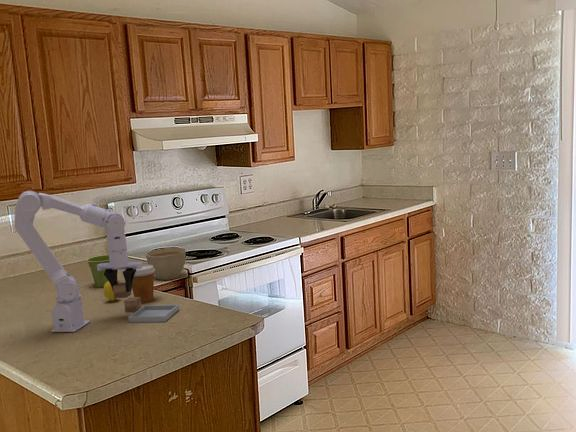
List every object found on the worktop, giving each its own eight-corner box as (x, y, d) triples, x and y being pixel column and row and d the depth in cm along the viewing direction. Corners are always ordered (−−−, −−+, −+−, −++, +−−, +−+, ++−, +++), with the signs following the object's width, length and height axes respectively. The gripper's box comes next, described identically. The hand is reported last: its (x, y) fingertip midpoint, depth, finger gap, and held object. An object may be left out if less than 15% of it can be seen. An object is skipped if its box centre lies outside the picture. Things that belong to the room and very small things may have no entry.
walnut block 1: (126, 297, 182) (124, 285, 182) (114, 298, 183) (113, 285, 182) (131, 294, 186) (130, 282, 186) (120, 294, 187) (118, 282, 186)
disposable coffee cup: (163, 297, 206) (159, 264, 205) (148, 304, 197) (145, 270, 196) (140, 296, 209) (136, 264, 208) (125, 304, 200) (121, 270, 199)
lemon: (116, 303, 202) (113, 281, 201) (101, 303, 203) (99, 281, 202) (123, 298, 207) (121, 277, 206) (109, 299, 209) (107, 277, 208)
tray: (165, 322, 177) (164, 316, 176) (129, 322, 179) (128, 317, 179) (179, 310, 188) (178, 304, 188) (144, 310, 191) (144, 305, 190)
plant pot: (83, 289, 227) (79, 261, 225) (101, 281, 238) (98, 254, 236) (108, 289, 223) (105, 261, 221) (126, 281, 234) (123, 254, 233)
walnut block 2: (136, 312, 190) (135, 300, 189) (125, 312, 191) (124, 300, 190) (141, 308, 194) (140, 297, 193) (130, 308, 195) (129, 297, 194)
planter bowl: (140, 279, 236) (138, 253, 235) (174, 271, 247) (171, 246, 246) (162, 284, 225) (159, 257, 223) (196, 275, 236) (193, 249, 234)
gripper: (144, 246, 185) (148, 287, 187) (102, 248, 187) (107, 288, 189) (135, 251, 178) (139, 293, 180) (91, 252, 181) (96, 294, 182)
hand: (122, 291), depth 184 cm, fingers closed on walnut block 1, 4 cm apart
